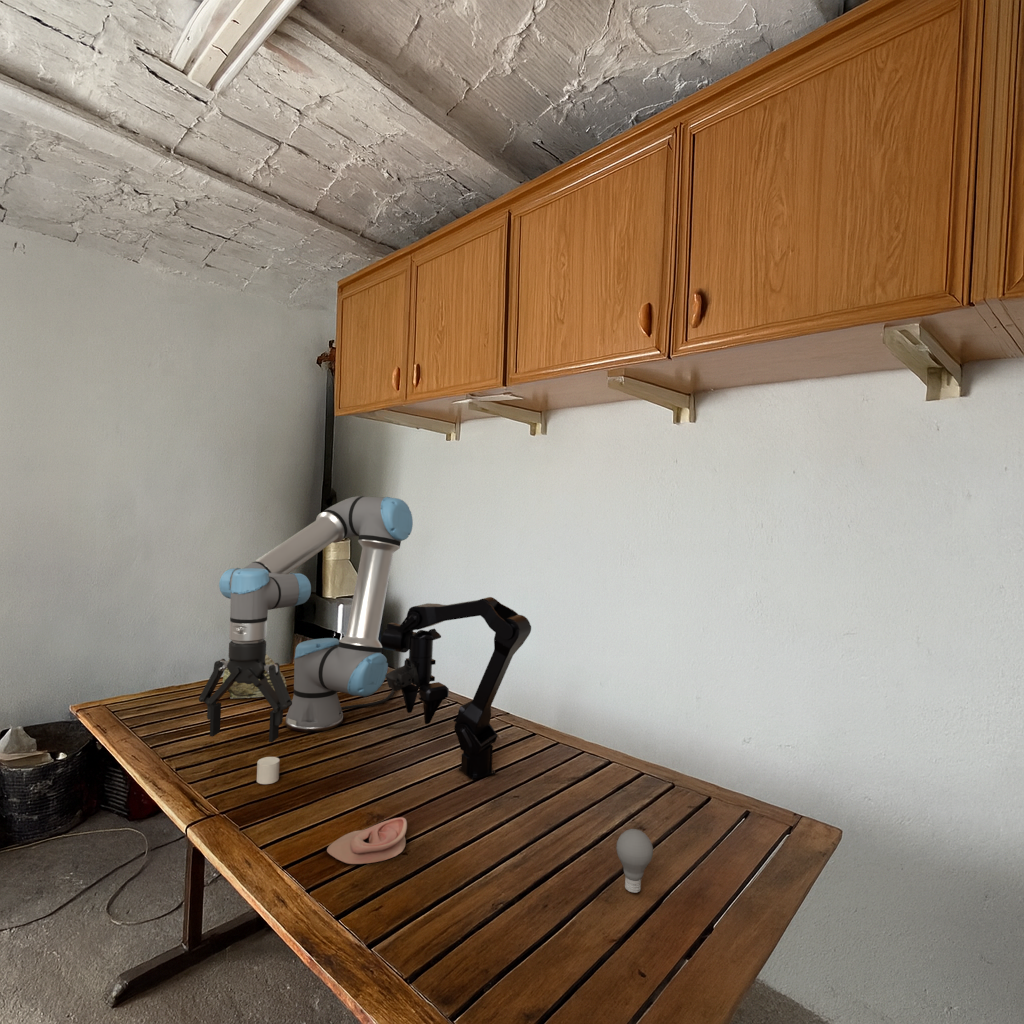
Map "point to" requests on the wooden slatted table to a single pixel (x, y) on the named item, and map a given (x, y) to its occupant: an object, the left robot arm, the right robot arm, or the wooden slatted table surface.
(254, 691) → the fossil
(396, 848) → the anatomical model
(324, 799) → the wooden slatted table surface
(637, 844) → the light bulb
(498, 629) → the right robot arm
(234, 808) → the wooden slatted table surface
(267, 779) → the can
